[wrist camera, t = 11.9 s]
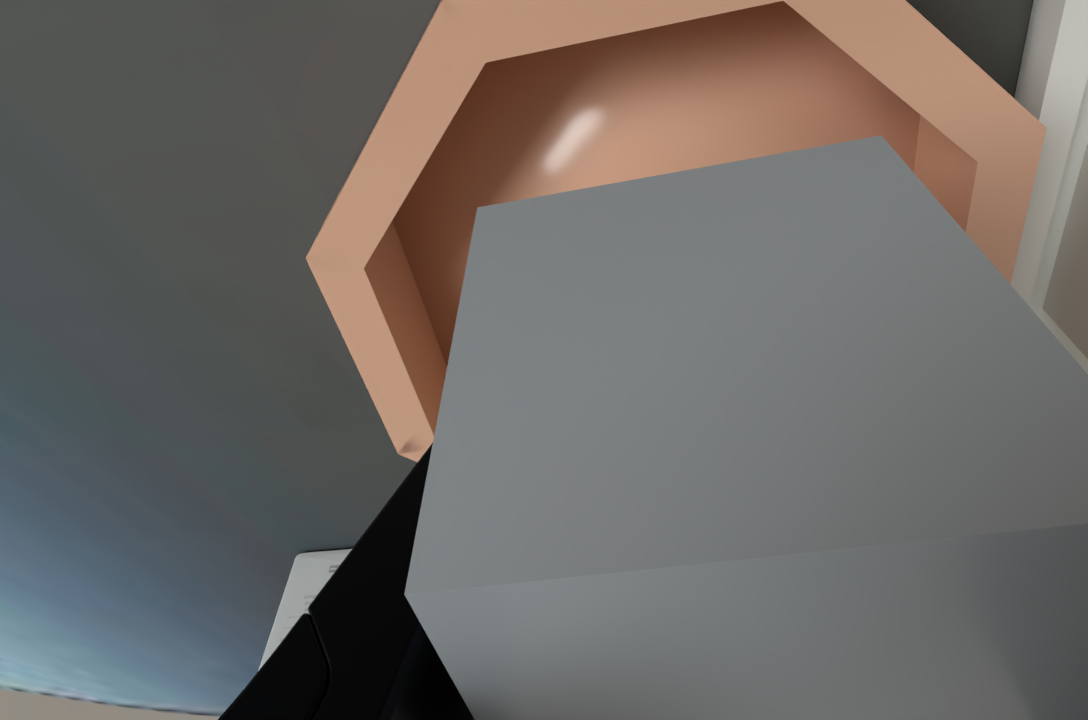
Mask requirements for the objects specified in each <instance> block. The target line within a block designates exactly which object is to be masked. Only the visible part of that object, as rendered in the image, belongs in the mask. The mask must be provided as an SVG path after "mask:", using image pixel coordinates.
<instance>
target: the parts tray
mask: <svg viewBox="0 0 1088 720" xmlns="http://www.w3.org/2000/svg"><path fill="white" fill-rule="evenodd" d="M1014 99H1015V100H1016V101H1018V102H1019V103H1020V104H1021V105H1022V106H1023V107H1024V108H1025V109H1026V110H1027V111H1029V112H1030V113H1031V114H1032V115H1033V116H1034V117H1035V118H1036V119H1037V120H1039V121H1040V122H1041V123H1042V124H1043V125H1044V126H1046V127H1047V129H1046V133H1045V138H1044V142H1043V146H1042V151H1041V155H1040V159H1039V164H1038V168H1037V172H1036V176H1035V181H1034V185H1033V189H1032V194H1031V198H1030V202H1029V206H1028V211H1027V215H1026V219H1025V224H1024V228H1023V232H1022V237H1021V241H1020V245H1019V249H1018V254H1017V258H1016V262H1015V267H1014V271H1013V275H1012V279H1011V284H1010V285H1011V286H1012V287H1013V288H1014V289H1015V290H1016V292H1017V293H1018V294H1019V295H1020V296H1021V297H1022V299H1023V300H1024V301H1025V302H1026V303H1027V304H1028V305H1029V307H1030V308H1031V309H1032V310H1033V311H1034V312H1035V314H1036V315H1037V316H1038V317H1039V318H1040V319H1041V321H1042V322H1043V323H1044V324H1045V325H1046V326H1047V327H1048V329H1049V330H1050V331H1051V332H1052V333H1053V334H1054V336H1055V337H1056V338H1057V339H1058V340H1059V341H1060V343H1061V344H1062V345H1063V346H1064V347H1065V348H1066V349H1067V351H1068V352H1069V353H1070V354H1071V355H1072V356H1073V358H1074V359H1075V360H1076V361H1077V362H1078V363H1079V365H1080V366H1081V367H1082V368H1083V369H1084V370H1085V371H1086V373H1087V374H1088V359H1087V358H1086V357H1085V356H1084V354H1083V353H1082V352H1081V351H1080V350H1079V349H1078V348H1077V347H1076V346H1075V344H1074V343H1073V342H1072V341H1071V340H1070V339H1069V338H1068V337H1067V335H1066V334H1065V333H1064V332H1063V331H1062V330H1061V329H1060V328H1059V326H1058V325H1057V324H1056V323H1055V322H1054V321H1053V320H1052V319H1051V317H1050V316H1049V315H1048V314H1047V313H1046V312H1045V311H1044V310H1043V304H1044V301H1045V297H1046V293H1047V290H1048V286H1049V282H1050V279H1051V275H1052V271H1053V268H1054V264H1055V260H1056V257H1057V253H1058V249H1059V246H1060V242H1061V238H1062V235H1063V231H1064V227H1065V223H1066V220H1067V216H1068V212H1069V209H1070V205H1071V201H1072V198H1073V194H1074V190H1075V187H1076V183H1077V179H1078V176H1079V172H1080V168H1081V165H1082V161H1083V157H1084V154H1085V150H1086V146H1087V143H1088V0H1034V1H1033V6H1032V11H1031V16H1030V21H1029V26H1028V31H1027V37H1026V42H1025V47H1024V52H1023V57H1022V62H1021V67H1020V72H1019V77H1018V82H1017V87H1016V92H1015V97H1014Z"/></svg>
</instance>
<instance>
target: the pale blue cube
mask: <svg viewBox="0 0 1088 720" xmlns="http://www.w3.org/2000/svg"><path fill="white" fill-rule="evenodd" d="M404 595H405V597H406V598H407V600H408V602H409V604H410V606H411V607H412V609H413V611H414V613H415V614H416V616H417V618H418V620H419V622H420V623H421V625H422V627H423V629H424V630H425V632H426V634H427V636H428V638H429V639H430V641H431V643H432V645H433V646H434V648H435V650H436V652H437V654H438V655H439V657H440V659H441V661H442V662H443V664H444V666H445V668H446V670H447V671H448V673H449V675H450V677H451V678H452V680H453V682H454V684H455V686H456V687H457V689H458V691H459V693H460V694H461V696H462V698H463V700H464V702H465V703H466V705H467V707H468V709H469V710H470V712H471V714H472V716H473V718H474V719H475V720H1088V374H1087V373H1086V371H1085V370H1084V369H1083V368H1082V367H1081V366H1080V365H1079V363H1078V362H1077V361H1076V360H1075V359H1074V358H1073V356H1072V355H1071V354H1070V353H1069V352H1068V351H1067V349H1066V348H1065V347H1064V346H1063V345H1062V344H1061V343H1060V341H1059V340H1058V339H1057V338H1056V337H1055V336H1054V334H1053V333H1052V332H1051V331H1050V330H1049V329H1048V327H1047V326H1046V325H1045V324H1044V323H1043V322H1042V321H1041V319H1040V318H1039V317H1038V316H1037V315H1036V314H1035V312H1034V311H1033V310H1032V309H1031V308H1030V307H1029V305H1028V304H1027V303H1026V302H1025V301H1024V300H1023V299H1022V297H1021V296H1020V295H1019V294H1018V293H1017V292H1016V290H1015V289H1014V288H1013V287H1012V286H1011V285H1010V283H1009V282H1008V281H1007V280H1006V279H1005V278H1004V277H1003V275H1002V274H1001V273H1000V272H999V271H998V270H997V268H996V267H995V266H994V265H993V264H992V263H991V261H990V260H989V259H988V258H987V257H986V256H985V255H984V253H983V252H982V251H981V250H980V249H979V248H978V246H977V245H976V244H975V243H974V242H973V241H972V239H971V238H970V237H969V236H968V235H967V234H966V233H965V231H964V230H963V229H962V228H961V227H960V226H959V224H958V223H957V222H956V221H955V220H954V219H953V217H952V216H951V215H950V214H949V213H948V212H947V211H946V209H945V208H944V207H943V206H942V205H941V204H940V202H939V201H938V200H937V199H936V198H935V197H934V196H933V194H932V193H931V192H930V191H929V190H928V189H927V187H926V186H925V185H924V184H923V183H922V182H921V180H920V179H919V178H918V177H917V176H916V175H915V174H914V172H913V171H912V170H911V169H910V168H909V167H908V165H907V164H906V163H905V162H904V161H903V160H902V158H901V157H900V156H899V155H898V154H897V153H896V152H895V150H894V149H893V148H892V147H891V146H890V145H889V143H888V142H887V141H886V140H885V139H884V138H883V136H882V135H880V136H875V137H869V138H863V139H858V140H852V141H847V142H841V143H836V144H830V145H824V146H819V147H813V148H808V149H802V150H796V151H791V152H785V153H780V154H774V155H768V156H763V157H757V158H752V159H746V160H740V161H735V162H729V163H724V164H718V165H712V166H707V167H701V168H696V169H690V170H685V171H679V172H673V173H668V174H662V175H657V176H651V177H645V178H640V179H634V180H629V181H623V182H617V183H612V184H606V185H601V186H595V187H589V188H584V189H578V190H573V191H567V192H561V193H556V194H550V195H545V196H539V197H534V198H528V199H522V200H517V201H511V202H506V203H500V204H494V205H489V206H483V207H478V208H477V212H476V217H475V223H474V228H473V233H472V239H471V244H470V249H469V254H468V260H467V265H466V270H465V276H464V281H463V286H462V291H461V297H460V302H459V307H458V313H457V318H456V323H455V329H454V334H453V339H452V344H451V350H450V355H449V360H448V366H447V371H446V376H445V382H444V387H443V392H442V397H441V403H440V408H439V413H438V419H437V424H436V429H435V435H434V440H433V445H432V450H431V456H430V461H429V466H428V472H427V477H426V482H425V488H424V493H423V498H422V503H421V509H420V514H419V519H418V525H417V530H416V535H415V541H414V546H413V551H412V556H411V562H410V567H409V572H408V578H407V583H406V588H405V593H404Z"/></svg>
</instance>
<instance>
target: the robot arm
mask: <svg viewBox="0 0 1088 720" xmlns="http://www.w3.org/2000/svg"><path fill="white" fill-rule="evenodd" d="M432 445H433V443H432V444H431V445H430V447H429V448H428V449H427V451H426V452H425V453H424V454H423V456H422V457H421V458H420V460H419V461H418V462H417V464H416V465H415V466H414V468H413V469H412V470H411V472H410V473H409V474H408V476H407V477H406V478H405V480H404V481H403V482H402V484H401V485H400V486H399V488H398V489H397V490H396V492H395V493H394V494H393V496H392V497H391V498H390V499H389V501H388V502H387V503H386V505H385V506H384V507H383V509H382V510H381V511H380V513H379V514H378V515H377V517H376V518H375V519H374V521H373V522H372V523H371V525H370V526H369V527H368V529H367V530H366V531H365V533H364V534H363V535H362V537H361V538H360V539H359V541H358V542H357V543H356V544H355V546H354V547H353V548H352V550H351V551H350V552H349V554H348V555H347V556H346V558H345V559H344V560H343V562H342V563H341V564H340V566H339V567H338V568H337V570H336V571H335V572H334V574H333V575H332V576H331V578H330V579H329V580H328V582H327V583H326V584H325V585H324V587H323V588H322V589H321V591H320V592H319V593H318V595H317V596H316V597H315V599H314V600H313V601H312V603H311V604H310V605H309V607H308V612H309V614H310V615H309V614H308V613H304V614H302V615H301V617H300V618H299V619H298V621H297V622H296V623H295V625H294V626H293V627H292V629H291V630H290V631H289V633H288V634H287V635H286V637H285V638H284V639H283V641H282V642H281V643H280V644H279V646H278V647H277V648H276V650H275V651H274V652H273V653H272V655H271V656H270V657H269V658H268V660H267V661H266V662H265V663H264V665H263V666H262V667H261V668H260V670H259V671H258V672H257V674H256V675H255V676H254V677H253V679H252V680H251V681H250V682H249V684H248V685H247V686H246V687H245V689H244V690H243V691H242V692H241V693H240V694H239V696H238V697H237V698H236V699H235V700H234V701H233V703H232V704H231V705H230V706H229V707H228V708H227V710H226V711H225V712H224V713H223V714H222V715H221V716H220V718H219V719H218V720H475V719H474V718H473V716H472V714H471V712H470V710H469V709H468V707H467V705H466V703H465V702H464V700H463V698H462V696H461V694H460V693H459V691H458V689H457V687H456V686H455V684H454V682H453V680H452V678H451V677H450V675H449V673H448V671H447V670H446V668H445V666H444V664H443V662H442V661H441V659H440V657H439V655H438V654H437V652H436V650H435V648H434V646H433V645H432V643H431V641H430V639H429V638H428V636H427V634H426V632H425V630H424V629H423V627H422V625H421V623H420V622H419V620H418V618H417V616H416V614H415V613H414V611H413V609H412V607H411V606H410V604H409V602H408V600H407V598H406V597H405V595H404V593H405V588H406V583H407V578H408V572H409V567H410V562H411V556H412V551H413V546H414V541H415V535H416V530H417V525H418V519H419V514H420V509H421V503H422V498H423V493H424V488H425V482H426V477H427V472H428V466H429V461H430V456H431V450H432Z"/></svg>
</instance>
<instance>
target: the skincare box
mask: <svg viewBox="0 0 1088 720" xmlns="http://www.w3.org/2000/svg"><path fill="white" fill-rule="evenodd" d="M351 550H352V549H344V550H331V551H319V552H308V553H301V554H299V555H297V556H296V558H295V560H294V564H293V567H292V570H291V573H290V576H289V579H288V582H287V585H286V588H285V591H284V593H283V597H282V600H281V603H280V606H279V609H278V612H277V615H276V618H275V622H274V625H273V627H272V630H271V634H270V637H269V639H268V642H267V645H266V649H265V652H264V655H263V658H262V661H261V664H260V667H259V670H260V668H261V667H262V666H263V665H264V663H265V662H266V661H267V660H268V658H269V657H270V656H271V655H272V653H273V652H274V651H275V650H276V648H277V647H278V646H279V644H280V643H281V642H282V641H283V639H284V638H285V637H286V635H287V634H288V633H289V631H290V630H291V629H292V627H293V626H294V625H295V623H296V622H297V621H298V619H299V618H300V617H301V615H302V614H304V613H308V614H309V612H308V607H309V605H310V604H311V603H312V601H313V600H314V599H315V597H316V596H317V595H318V593H319V592H320V591H321V589H322V588H323V587H324V585H325V584H326V583H327V582H328V580H329V579H330V578H331V576H332V575H333V574H334V572H335V571H336V570H337V568H338V567H339V566H340V564H341V563H342V562H343V560H344V559H345V558H346V556H347V555H348V554H349V552H350V551H351ZM309 615H310V614H309ZM259 670H258V671H259Z"/></svg>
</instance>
